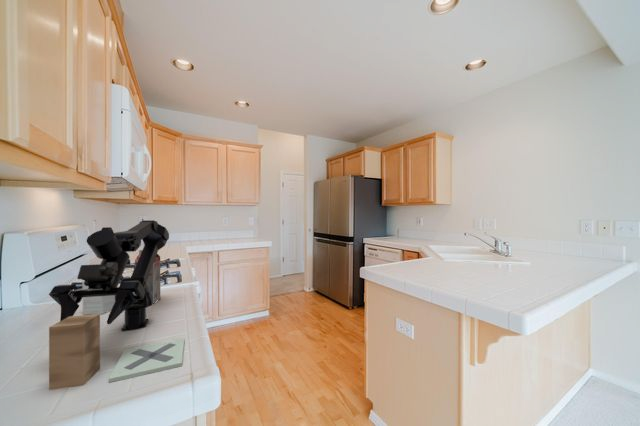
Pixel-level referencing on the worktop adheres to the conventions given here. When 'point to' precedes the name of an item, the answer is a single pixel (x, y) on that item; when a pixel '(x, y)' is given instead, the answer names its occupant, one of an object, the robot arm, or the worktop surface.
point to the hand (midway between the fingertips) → (85, 325)
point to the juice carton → (153, 278)
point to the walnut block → (74, 351)
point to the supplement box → (97, 303)
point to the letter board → (148, 359)
